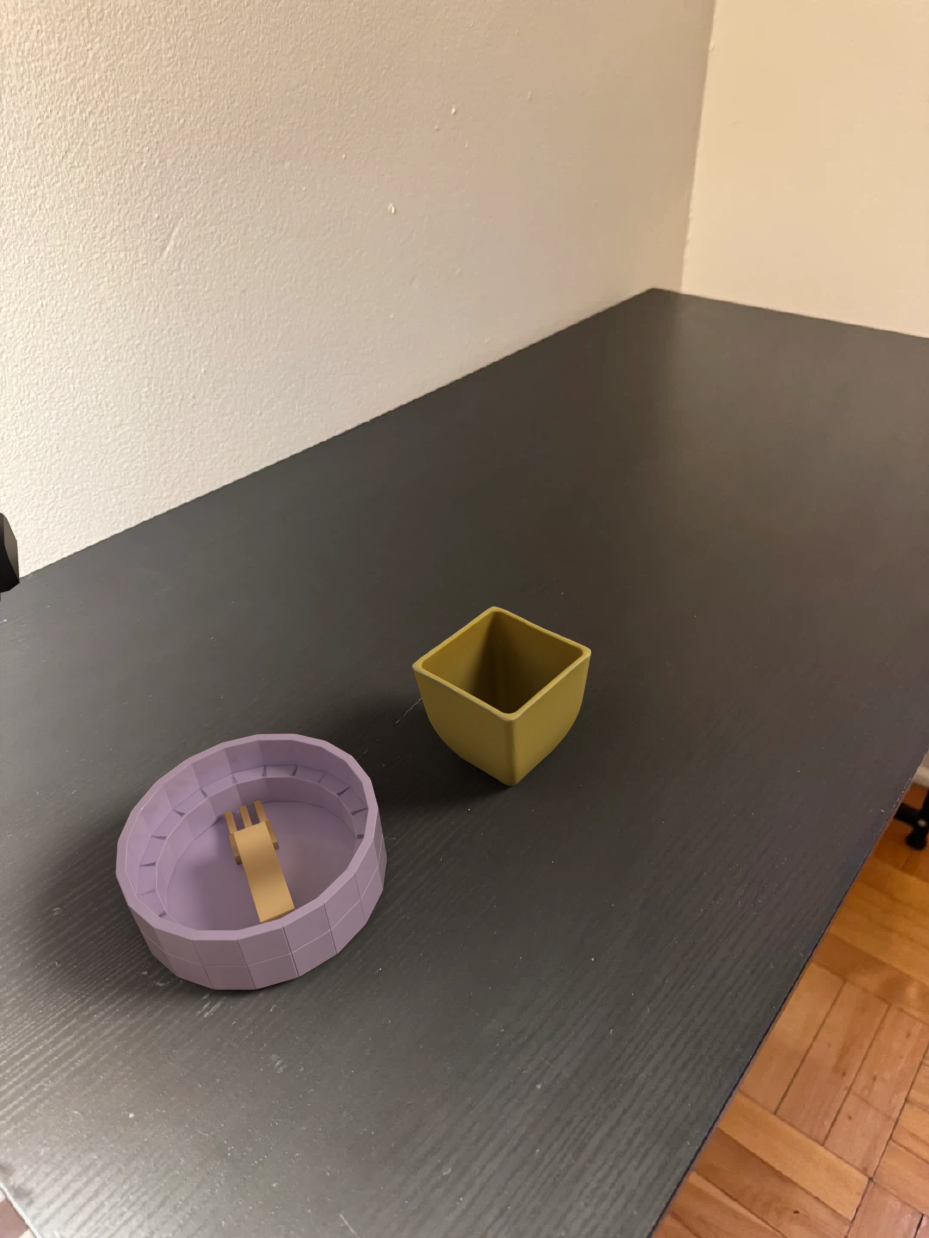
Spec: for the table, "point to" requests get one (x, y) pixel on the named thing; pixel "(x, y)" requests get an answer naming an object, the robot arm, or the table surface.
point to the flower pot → (503, 692)
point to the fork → (260, 864)
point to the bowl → (218, 888)
